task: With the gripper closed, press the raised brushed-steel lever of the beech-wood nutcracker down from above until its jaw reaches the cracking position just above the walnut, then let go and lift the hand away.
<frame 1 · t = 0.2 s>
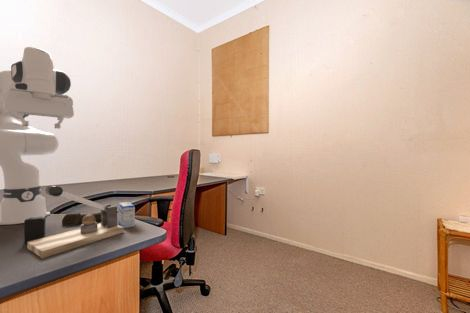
hand: (42, 127, 85), 39 cm above the table, tool pointing down, fingers open, 8 cm apart
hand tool: (89, 223, 95), on the table
cracker base: (79, 239, 77), on the table
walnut: (89, 236, 79), resting on cracker base
ink cartridge: (35, 242, 75), on the table
lever: (83, 200, 78), point 13 cm above the table, hinge at 30.0°
medicine box: (126, 225, 92), on the table
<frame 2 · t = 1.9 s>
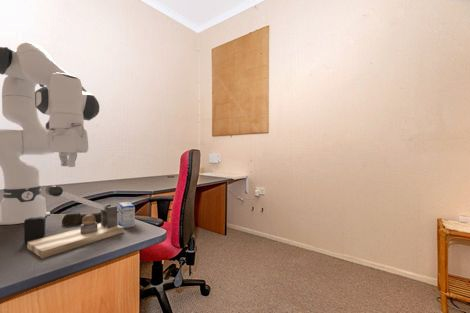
hand: (68, 166, 74), 25 cm above the table, tool pointing down, fingers open, 3 cm apart
nothing on the table moved.
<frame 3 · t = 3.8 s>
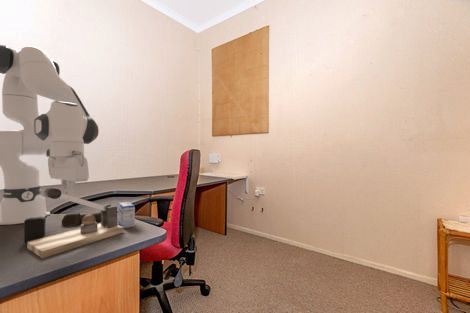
hand: (68, 193, 74), 16 cm above the table, tool pointing down, fingers closed, pressing on lever
lever: (82, 202, 77), point 13 cm above the table, hinge at 27.7°, touching gripper
everything else where it was.
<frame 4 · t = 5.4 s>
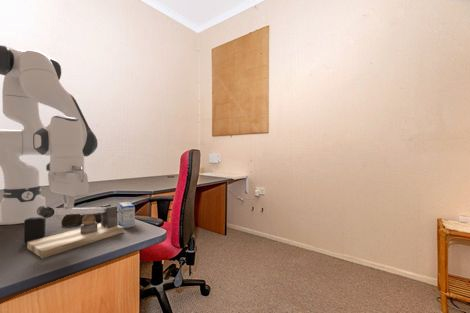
hand: (68, 208, 74), 12 cm above the table, tool pointing down, fingers closed, pressing on lever
lever: (79, 210, 77), point 10 cm above the table, hinge at 11.0°, touching gripper
everything else where it was.
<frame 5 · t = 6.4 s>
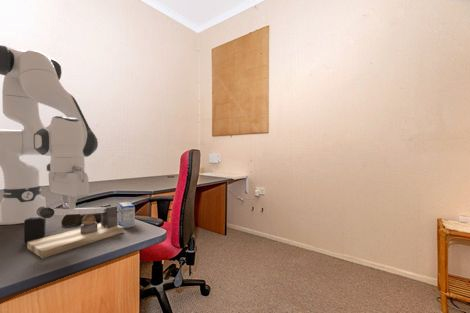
hand: (69, 208, 74), 11 cm above the table, tool pointing down, fingers closed
lever: (79, 210, 77), point 10 cm above the table, hinge at 10.5°, touching gripper
everything else where it was.
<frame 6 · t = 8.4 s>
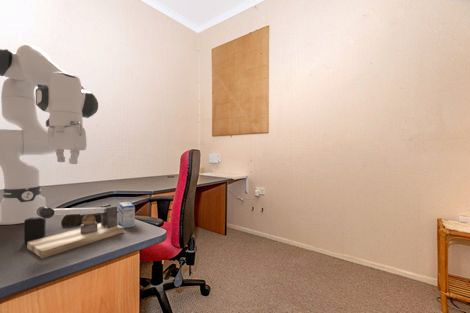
hand: (67, 163, 76), 26 cm above the table, tool pointing down, fingers open, 8 cm apart
lever: (79, 210, 77), point 10 cm above the table, hinge at 10.4°
everything else where it was.
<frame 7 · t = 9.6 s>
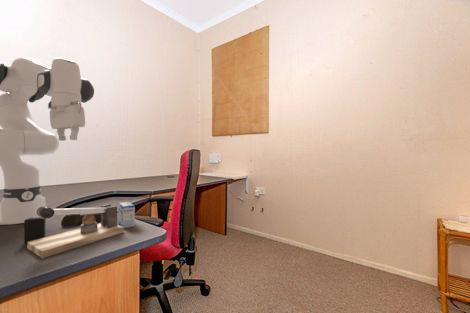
hand: (67, 140, 85), 34 cm above the table, tool pointing down, fingers open, 8 cm apart
nothing on the table moved.
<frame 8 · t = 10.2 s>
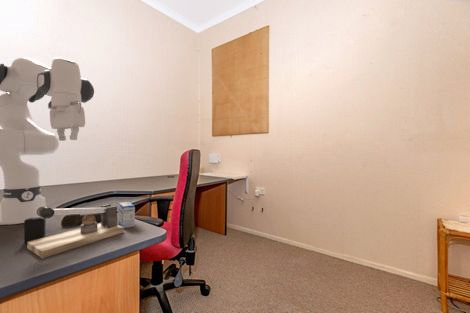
hand: (67, 140, 85), 34 cm above the table, tool pointing down, fingers open, 8 cm apart
nothing on the table moved.
at the end: lever at +10° (first picture: +30°); the gripper is holding nothing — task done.
